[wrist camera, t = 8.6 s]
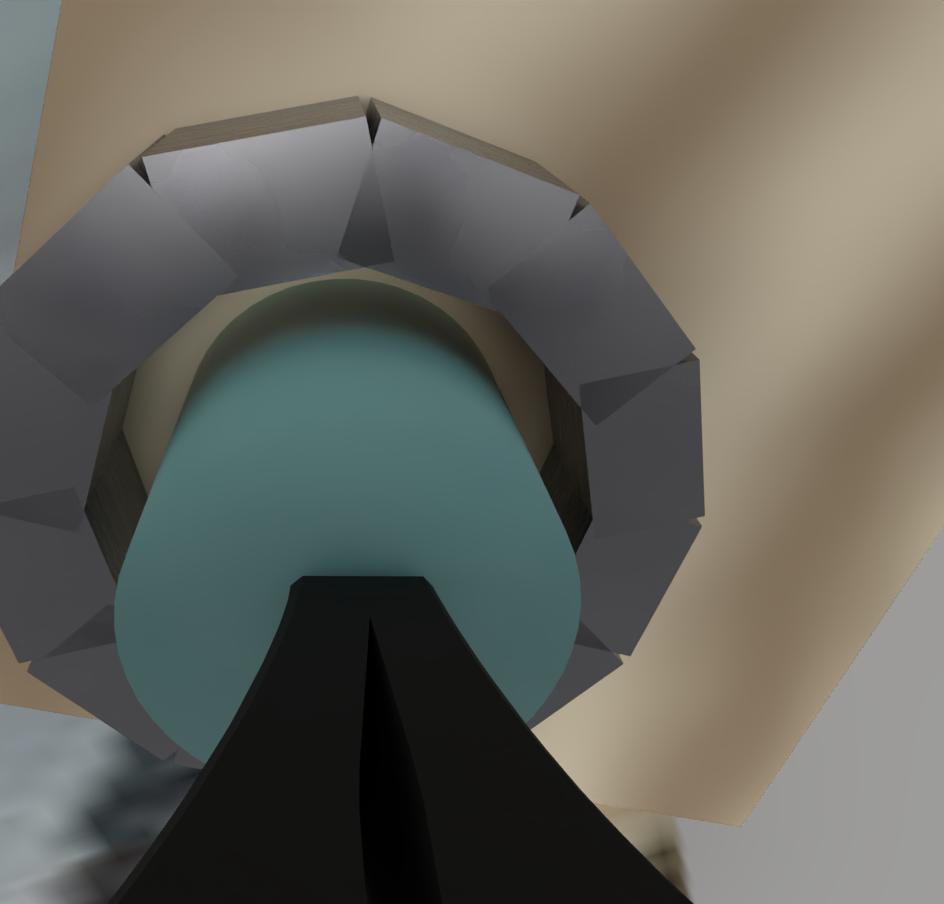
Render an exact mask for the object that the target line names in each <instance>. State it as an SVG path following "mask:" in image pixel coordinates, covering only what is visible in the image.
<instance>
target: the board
mask: <svg viewBox="0 0 944 904" xmlns="http://www.w3.org/2000/svg"><path fill="white" fill-rule="evenodd" d="M353 96H359V99H360V102H361V104H362V107H363V110H364V112H365V114H366V111H367V108H368V105H369V101H370V98H371V97H373V98H375V99H378V100H380V101H383V102H385V103H388V104H390V105H393V106H396V107H398V108H401V109H403V110H406V111H408V112H411V113H413V114H416V115H418V116H421V117H424V118H426V119H429V120H431V121H434V122H436V123H439V124H441V125H444V126H446V127H449V128H452V129H454V130H457V131H459V132H462V133H464V134H467V135H469V136H472V137H474V138H477V139H480V140H482V141H485V142H487V143H490V144H492V145H495V146H497V147H500V148H502V149H505V150H508V151H510V152H513V153H515V154H518V155H520V156H523V157H525V158H528V159H530V160H533V161H535V162H537V163H538V164H540V165H541V166H542V167H544V168H545V169H546V170H548V171H549V172H550V173H551V174H553V175H554V176H555V177H557V178H558V179H559V180H561V181H562V182H563V183H565V184H566V185H567V186H569V187H570V188H571V189H573V190H574V191H575V192H577V193H578V194H579V195H580V196H582V197H583V198H584V199H586V200H587V201H588V202H590V203H591V205H592V206H593V207H594V209H595V210H596V211H597V213H598V214H599V216H600V217H601V218H602V220H603V221H604V223H605V224H606V225H607V227H608V228H609V229H610V231H611V232H612V234H613V235H614V236H615V238H616V239H617V240H618V242H619V243H620V245H621V246H622V247H623V249H624V250H625V252H626V253H627V254H628V256H629V257H630V258H631V260H632V261H633V263H634V264H635V265H636V267H637V268H638V269H639V271H640V272H641V274H642V275H643V276H644V278H645V279H646V281H647V282H648V283H649V285H650V286H651V287H652V289H653V290H654V292H655V293H656V294H657V296H658V297H659V298H660V300H661V301H662V303H663V304H664V305H665V307H666V308H667V310H668V311H669V312H670V314H671V315H672V316H673V318H674V319H675V321H676V322H677V323H678V325H679V326H680V328H681V329H682V330H683V332H684V333H685V334H686V336H687V337H688V339H689V340H690V341H691V343H692V344H693V345H694V347H695V348H696V349H695V350H694V351H693V352H692V353H693V354H694V355H695V356H696V357H697V358H698V359H699V360H700V386H701V415H702V445H703V474H704V504H705V516H704V517H699V518H697V520H698V521H699V522H700V524H701V525H702V528H701V530H700V531H699V533H698V535H697V537H696V539H695V541H694V542H693V544H692V546H691V548H690V550H689V551H688V553H687V555H686V557H685V559H684V560H683V562H682V564H681V566H680V568H679V570H678V571H677V573H676V575H675V577H674V579H673V580H672V582H671V584H670V586H669V588H668V589H667V591H666V593H665V595H664V597H663V598H662V600H661V602H660V604H659V606H658V608H657V609H656V611H655V613H654V615H653V617H652V618H651V620H650V622H649V624H648V626H647V627H646V629H645V631H644V633H643V635H642V637H641V638H640V640H639V642H638V644H637V646H636V647H635V649H634V651H633V653H632V655H631V656H626V655H622V654H619V655H620V657H621V659H622V662H623V665H621V666H620V667H619V668H617V669H616V670H614V671H613V672H612V673H610V674H609V675H607V676H606V677H604V678H603V679H602V680H600V681H599V682H597V683H596V684H595V685H593V686H592V687H590V688H589V689H588V690H586V691H585V692H583V693H582V694H580V695H579V696H578V697H576V698H575V699H573V700H572V701H571V702H569V703H568V704H566V705H565V706H564V707H562V708H561V709H559V710H558V711H556V712H555V713H554V714H552V715H551V716H549V717H548V718H547V719H545V720H544V721H542V722H541V723H539V724H538V725H537V726H535V727H534V728H532V729H531V731H532V732H533V733H534V734H535V736H536V737H537V738H538V739H539V741H540V742H541V743H542V744H543V746H544V747H545V748H546V749H547V751H548V752H549V753H550V754H551V755H552V756H553V758H554V759H555V760H556V761H557V762H558V763H559V765H560V766H561V767H562V768H563V769H564V771H565V772H566V773H567V774H568V775H569V776H570V778H571V779H572V780H573V781H574V782H575V783H576V785H577V786H578V787H579V788H580V789H581V790H582V791H583V793H584V794H585V795H586V796H587V797H588V798H589V799H590V800H591V801H592V802H593V803H599V804H605V805H611V806H617V807H623V808H629V809H635V810H641V811H647V812H653V813H659V814H665V815H671V816H677V817H683V818H689V819H695V820H700V821H707V822H713V823H718V824H724V825H730V826H736V827H742V826H743V824H744V822H745V821H746V820H747V818H748V817H749V815H750V814H751V812H752V811H753V809H754V808H755V806H756V805H757V803H758V802H759V800H760V799H761V797H762V796H763V794H764V793H765V791H766V790H767V788H768V787H769V786H770V784H771V782H772V781H773V780H774V778H775V777H776V775H777V773H778V772H779V771H780V769H781V768H782V766H783V765H784V763H785V762H786V760H787V759H788V757H789V756H790V754H791V753H792V751H793V750H794V749H795V747H796V745H797V744H798V743H799V741H800V740H801V738H802V736H803V735H804V734H805V732H806V731H807V729H808V728H809V726H810V725H811V723H812V722H813V720H814V719H815V717H816V716H817V714H818V713H819V712H820V710H821V709H822V707H823V705H824V704H825V703H826V701H827V700H828V698H829V697H830V695H831V694H832V692H833V691H834V689H835V688H836V686H837V685H838V683H839V682H840V680H841V679H842V677H843V676H844V674H845V673H846V672H847V670H848V669H849V667H850V665H851V664H852V662H853V661H854V660H855V658H856V657H857V655H858V654H859V652H860V651H861V649H862V648H863V646H864V645H865V643H866V642H867V640H868V639H869V637H870V636H871V635H872V633H873V631H874V630H875V629H876V627H877V625H878V624H879V623H880V621H881V620H882V618H883V617H884V615H885V614H886V612H887V611H888V609H889V608H890V606H891V605H892V603H893V602H894V600H895V599H896V598H897V596H898V595H899V593H900V592H901V590H902V589H903V587H904V586H905V584H906V583H907V581H908V580H909V578H910V577H911V575H912V574H913V572H914V571H915V569H916V568H917V566H918V565H919V563H920V562H921V560H922V559H923V558H924V556H925V554H926V553H927V552H928V550H929V549H930V547H931V545H932V544H933V543H934V541H935V540H936V538H937V537H938V535H939V534H940V532H941V531H942V529H943V528H944V0H62V4H61V10H60V15H59V21H58V26H57V32H56V38H55V43H54V49H53V54H52V60H51V66H50V71H49V77H48V83H47V88H46V94H45V99H44V105H43V111H42V116H41V122H40V128H39V133H38V139H37V144H36V150H35V156H34V161H33V167H32V172H31V178H30V184H29V189H28V195H27V201H26V206H25V212H24V217H23V223H22V229H21V234H20V240H19V246H18V251H17V257H16V262H15V268H14V273H15V272H16V271H17V270H18V269H19V268H20V267H21V266H22V265H23V264H24V263H25V262H26V261H27V260H28V259H29V258H30V257H31V256H32V255H33V254H34V253H36V252H37V251H38V250H39V249H40V248H41V247H42V246H43V245H44V244H45V243H46V242H47V241H48V240H49V239H50V238H51V237H52V236H53V235H54V234H55V233H56V232H58V231H59V230H60V229H61V228H62V227H63V226H64V225H65V224H66V223H67V222H68V221H69V220H70V219H71V218H72V217H73V216H74V215H75V214H76V213H77V212H79V211H80V210H81V209H82V208H83V207H84V206H85V205H86V204H87V203H88V202H89V201H90V200H91V199H92V198H93V197H94V196H95V195H96V194H97V193H98V192H99V191H101V190H102V189H103V188H104V187H105V186H106V185H107V184H108V183H109V182H110V181H111V180H112V179H113V178H114V177H115V176H116V175H117V174H118V173H119V172H120V171H122V170H123V169H124V168H125V167H126V166H127V165H128V164H129V163H130V162H131V161H133V160H134V159H135V158H136V157H137V156H138V155H140V154H141V153H142V152H143V151H144V150H146V149H147V148H148V147H149V146H150V145H152V144H153V143H154V142H155V141H156V140H158V139H159V138H160V137H161V136H162V135H165V136H167V135H168V134H169V133H171V132H172V131H173V130H174V129H175V128H181V127H186V126H192V125H197V124H203V123H208V122H214V121H219V120H225V119H231V118H236V117H242V116H247V115H253V114H258V113H264V112H269V111H275V110H281V109H286V108H292V107H297V106H303V105H308V104H314V103H319V102H325V101H331V100H336V99H342V98H347V97H353ZM328 279H361V280H368V281H376V282H381V283H384V284H388V285H392V286H396V287H399V288H402V289H404V290H406V291H409V292H411V293H414V294H416V295H419V296H420V297H422V298H424V299H426V300H427V301H429V302H431V303H433V304H434V305H436V306H438V307H439V308H440V309H442V310H443V311H444V312H445V313H447V314H448V315H449V316H451V317H452V318H453V319H454V320H455V321H456V322H457V323H458V324H459V325H460V326H461V327H462V328H463V329H464V330H465V331H466V332H467V333H468V334H469V335H470V337H471V338H472V339H473V341H474V342H475V343H476V345H477V346H478V347H479V349H480V351H481V352H482V354H483V356H484V358H485V360H486V361H487V363H488V365H489V367H490V369H491V371H492V374H493V376H494V378H495V380H496V382H497V384H498V386H499V389H500V391H501V393H502V395H503V397H504V399H505V401H506V404H507V406H508V408H509V410H510V412H511V414H512V416H513V419H514V421H515V423H516V425H517V427H518V429H519V431H520V434H521V436H522V438H523V440H524V442H525V444H526V446H527V449H528V451H529V453H530V455H531V457H532V459H533V461H534V464H535V466H536V468H537V470H538V472H539V473H540V471H541V469H542V467H543V465H544V462H545V460H546V458H547V456H548V454H549V452H550V449H551V447H552V445H553V437H552V429H551V421H550V412H549V404H548V396H547V388H546V380H545V372H544V364H543V362H542V361H541V360H540V358H539V357H538V356H537V355H536V354H535V352H534V351H533V350H532V349H531V348H530V347H529V345H528V344H527V343H526V342H525V341H524V339H523V338H522V337H521V336H520V335H519V333H518V332H517V331H516V330H515V329H514V327H513V326H512V325H511V324H510V323H509V321H508V320H507V319H506V318H505V317H504V316H503V314H502V313H501V312H498V311H495V310H492V309H489V308H486V307H483V306H480V305H477V304H474V303H471V302H468V301H465V300H462V299H459V298H456V297H453V296H450V295H447V294H444V293H441V292H438V291H435V290H432V289H429V288H426V287H423V286H420V285H417V284H414V283H411V282H408V281H405V280H402V279H399V278H396V277H393V276H390V275H387V274H384V273H381V272H378V271H375V270H372V269H369V268H366V267H364V268H359V269H353V270H348V271H343V272H338V273H333V274H327V275H322V276H317V277H312V278H307V279H301V280H296V281H291V282H286V283H281V284H275V285H270V286H265V287H260V288H255V289H249V290H244V291H239V292H234V293H229V294H223V295H218V296H216V297H215V298H214V299H213V300H212V301H211V302H210V303H209V304H208V305H206V306H205V307H204V308H203V309H202V310H201V311H200V312H199V313H197V314H196V315H195V316H194V317H193V318H192V319H191V320H190V321H188V322H187V323H186V324H185V325H184V326H183V327H182V328H181V329H180V330H178V331H177V332H176V333H175V334H174V335H173V336H172V337H171V338H169V339H168V340H167V341H166V342H165V343H164V344H163V345H162V346H160V347H159V348H158V349H157V350H156V351H155V352H154V353H153V354H151V355H150V356H149V357H148V358H147V359H146V360H145V361H144V362H143V363H141V364H140V365H139V366H138V367H137V371H136V375H135V379H134V383H133V387H132V391H131V395H130V399H129V403H128V408H127V412H126V416H125V420H124V424H123V428H122V429H123V432H124V435H125V437H126V440H127V443H128V445H129V448H130V451H131V453H132V456H133V458H134V461H135V464H136V466H137V469H138V472H139V474H140V477H141V480H142V482H143V485H144V488H145V490H146V493H147V495H148V496H149V494H150V491H151V488H152V486H153V483H154V481H155V478H156V475H157V473H158V470H159V468H160V465H161V462H162V460H163V457H164V454H165V452H166V449H167V447H168V444H169V441H170V439H171V436H172V434H173V431H174V428H175V426H176V423H177V420H178V418H179V415H180V413H181V410H182V407H183V405H184V402H185V400H186V397H187V394H188V392H189V389H190V386H191V384H192V381H193V379H194V376H195V373H196V371H197V368H198V366H199V364H200V363H201V361H202V359H203V357H204V355H205V353H206V351H207V350H208V348H209V347H210V346H211V344H212V343H213V342H214V340H215V339H216V338H217V336H218V335H219V334H220V333H221V332H222V331H223V330H224V329H225V328H226V327H227V325H228V324H229V323H230V322H231V321H232V320H233V319H235V318H236V317H237V316H239V315H240V314H241V313H242V312H244V311H245V310H246V309H248V308H249V307H250V306H252V305H254V304H255V303H257V302H259V301H261V300H262V299H264V298H266V297H268V296H269V295H272V294H274V293H277V292H279V291H282V290H284V289H287V288H289V287H293V286H296V285H300V284H304V283H308V282H312V281H320V280H328ZM30 663H31V661H28V662H24V663H18V661H17V659H16V657H15V655H14V653H13V651H12V649H11V647H10V645H9V643H8V641H7V639H6V637H5V636H4V634H3V632H2V630H1V628H0V703H1V704H7V705H13V706H19V707H25V708H31V709H37V710H43V711H49V712H55V713H61V714H67V715H73V716H79V717H85V718H91V719H97V720H100V719H98V718H97V717H95V716H94V715H92V714H91V713H89V712H87V711H86V710H84V709H83V708H81V707H80V706H78V705H77V704H75V703H74V702H72V701H71V700H69V699H68V698H66V697H64V696H63V695H61V694H60V693H58V692H57V691H55V690H54V689H52V688H51V687H49V686H48V685H46V684H45V683H43V682H41V681H40V680H38V679H37V678H35V677H34V676H32V675H31V674H29V673H28V672H27V670H28V668H29V665H30Z"/></svg>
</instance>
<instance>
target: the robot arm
mask: <svg viewBox="0 0 944 904" xmlns="http://www.w3.org/2000/svg"><path fill="white" fill-rule="evenodd" d="M108 904H693V903H692V902H691V901H690V900H689V899H688V898H687V897H686V896H685V895H684V894H683V893H681V892H680V891H679V890H678V889H677V888H676V887H675V886H674V885H673V884H672V883H671V882H670V881H669V880H668V879H667V878H665V877H664V876H663V875H662V874H661V873H660V872H659V871H658V870H657V869H656V868H655V867H654V866H653V865H652V864H651V863H650V862H649V861H648V860H647V859H646V858H645V857H644V856H643V855H642V854H641V853H640V852H639V851H638V850H637V849H636V848H635V847H634V846H633V845H632V844H631V843H630V842H629V841H628V840H627V839H626V838H625V837H624V836H623V835H622V834H621V833H620V832H619V831H618V829H617V828H616V827H615V826H614V825H613V824H612V823H611V822H610V821H609V820H608V819H607V818H606V817H605V816H604V815H603V813H602V812H601V811H600V810H599V809H598V808H597V807H596V806H595V805H594V804H593V803H592V801H591V800H590V799H589V798H588V797H587V796H586V795H585V794H584V793H583V791H582V790H581V789H580V788H579V787H578V786H577V785H576V783H575V782H574V781H573V780H572V779H571V778H570V776H569V775H568V774H567V773H566V772H565V771H564V769H563V768H562V767H561V766H560V765H559V763H558V762H557V761H556V760H555V759H554V758H553V756H552V755H551V754H550V753H549V752H548V751H547V749H546V748H545V747H544V746H543V744H542V743H541V742H540V741H539V739H538V738H537V737H536V736H535V734H534V733H533V732H532V731H531V729H530V728H529V727H528V726H527V724H526V723H525V722H524V720H523V719H522V718H521V716H520V715H519V714H518V712H517V711H516V710H515V708H514V707H513V706H512V704H511V703H510V702H509V700H508V699H507V698H506V696H505V695H504V694H503V692H502V691H501V690H500V688H499V687H498V686H497V684H496V683H495V682H494V681H493V679H492V678H491V676H490V675H489V673H488V672H487V671H486V669H485V668H484V666H483V665H482V664H481V662H480V661H479V659H478V658H477V656H476V655H475V653H474V652H473V650H472V649H471V647H470V646H469V644H468V643H467V641H466V640H465V638H464V637H463V635H462V634H461V632H460V631H459V629H458V627H457V626H456V624H455V623H454V621H453V620H452V618H451V616H450V615H449V613H448V611H447V610H446V608H445V606H444V605H443V603H442V601H441V600H440V598H439V596H438V595H437V593H436V591H435V589H434V587H433V586H432V585H431V584H430V583H429V582H428V581H427V580H426V579H425V578H424V576H302V577H300V578H299V579H298V580H297V581H295V582H294V583H293V584H292V585H291V586H290V591H289V597H288V601H287V604H286V607H285V610H284V613H283V616H282V619H281V622H280V624H279V627H278V629H277V632H276V634H275V636H274V639H273V641H272V643H271V645H270V648H269V650H268V652H267V654H266V656H265V659H264V661H263V663H262V665H261V667H260V669H259V671H258V673H257V675H256V676H255V678H254V680H253V682H252V684H251V686H250V688H249V690H248V692H247V694H246V695H245V697H244V699H243V701H242V703H241V705H240V707H239V709H238V711H237V713H236V714H235V716H234V718H233V720H232V722H231V723H230V725H229V727H228V728H227V730H226V732H225V734H224V735H223V737H222V738H221V740H220V742H219V743H218V745H217V746H216V748H215V750H214V751H213V753H212V754H211V756H210V758H209V759H208V761H207V762H206V764H205V766H204V767H203V769H202V770H201V772H200V774H199V775H198V777H197V778H196V780H195V782H194V783H193V785H192V787H191V788H190V790H189V791H188V793H187V795H186V796H185V798H184V799H183V801H182V802H181V804H180V805H179V806H178V808H177V809H176V811H175V812H174V814H173V815H172V817H171V818H170V820H169V821H168V822H167V824H166V825H165V827H164V828H163V830H162V831H161V833H160V834H159V835H158V837H157V838H156V840H155V841H154V842H153V844H152V845H151V847H150V848H149V849H148V851H147V852H146V854H145V855H144V856H143V858H142V859H141V860H140V862H139V863H138V864H137V866H136V867H135V868H134V870H133V871H132V872H131V874H130V875H129V876H128V878H127V879H126V880H125V882H124V883H123V884H122V886H121V887H120V888H119V890H118V891H117V892H116V894H115V895H114V896H113V898H112V899H111V900H110V901H109V903H108Z"/></svg>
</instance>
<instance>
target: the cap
mask: <svg viewBox="0 0 944 904" xmlns="http://www.w3.org/2000/svg"><path fill="white" fill-rule="evenodd" d="M302 576H424V578H425V579H426V580H427V581H428V582H429V583H430V584H431V585H432V586H433V587H434V589H435V591H436V593H437V595H438V596H439V598H440V600H441V601H442V603H443V605H444V606H445V608H446V610H447V611H448V613H449V615H450V616H451V618H452V620H453V621H454V623H455V624H456V626H457V627H458V629H459V631H460V632H461V634H462V635H463V637H464V638H465V640H466V641H467V643H468V644H469V646H470V647H471V649H472V650H473V652H474V653H475V655H476V656H477V658H478V659H479V661H480V662H481V664H482V665H483V666H484V668H485V669H486V671H487V672H488V673H489V675H490V676H491V678H492V679H493V681H494V682H495V683H496V684H497V686H498V687H499V688H500V690H501V691H502V692H503V694H504V695H505V696H506V698H507V699H508V700H509V702H510V703H511V704H512V706H513V707H514V708H515V710H516V711H517V712H518V714H519V715H520V716H521V718H522V719H523V720H524V722H525V723H527V722H528V721H529V720H530V719H531V718H532V717H533V716H534V715H535V713H536V712H537V711H538V710H539V708H540V707H541V706H542V704H543V703H544V702H545V701H546V699H547V698H548V697H549V695H550V694H551V692H552V691H553V689H554V687H555V686H556V684H557V682H558V681H559V679H560V677H561V675H562V674H563V672H564V669H565V667H566V665H567V662H568V660H569V658H570V655H571V653H572V650H573V646H574V643H575V639H576V635H577V631H578V627H579V618H580V609H581V589H580V577H579V572H578V567H577V562H576V557H575V554H574V551H573V548H572V546H571V543H570V540H569V538H568V535H567V532H566V530H565V528H564V526H563V524H562V521H561V519H560V517H559V515H558V513H557V511H556V509H555V506H554V504H553V502H552V500H551V498H550V496H549V494H548V491H547V489H546V487H545V485H544V483H543V481H542V479H541V476H540V474H539V472H538V470H537V468H536V466H535V464H534V461H533V459H532V457H531V455H530V453H529V451H528V449H527V446H526V444H525V442H524V440H523V438H522V436H521V434H520V431H519V429H518V427H517V425H516V423H515V421H514V419H513V416H512V414H511V412H510V410H509V408H508V406H507V404H506V401H505V399H504V397H503V395H502V393H501V391H500V389H499V386H498V384H497V382H496V380H495V378H494V376H493V374H492V371H491V369H490V367H489V365H488V363H487V361H486V360H485V358H484V356H483V354H482V352H481V351H480V349H479V347H478V346H477V345H476V343H475V342H474V341H473V339H472V338H471V337H470V335H469V334H468V333H467V332H466V331H465V330H464V329H463V328H462V327H461V326H460V325H459V324H458V323H457V322H456V321H455V320H454V319H453V318H452V317H451V316H449V315H448V314H447V313H445V312H444V311H443V310H442V309H440V308H439V307H438V306H436V305H434V304H433V303H431V302H429V301H427V300H426V299H424V298H422V297H420V296H419V295H416V294H414V293H411V292H409V291H406V290H404V289H402V288H399V287H396V286H392V285H388V284H384V283H381V282H376V281H368V280H361V279H328V280H320V281H312V282H308V283H304V284H300V285H296V286H293V287H289V288H287V289H284V290H282V291H279V292H277V293H274V294H272V295H269V296H268V297H266V298H264V299H262V300H261V301H259V302H257V303H255V304H254V305H252V306H250V307H249V308H248V309H246V310H245V311H244V312H242V313H241V314H240V315H239V316H237V317H236V318H235V319H233V320H232V321H231V322H230V323H229V324H228V325H227V327H226V328H225V329H224V330H223V331H222V332H221V333H220V334H219V335H218V336H217V338H216V339H215V340H214V342H213V343H212V344H211V346H210V347H209V348H208V350H207V351H206V353H205V355H204V357H203V359H202V361H201V363H200V364H199V366H198V368H197V371H196V373H195V376H194V379H193V381H192V384H191V386H190V389H189V392H188V394H187V397H186V400H185V402H184V405H183V407H182V410H181V413H180V415H179V418H178V420H177V423H176V426H175V428H174V431H173V434H172V436H171V439H170V441H169V444H168V447H167V449H166V452H165V454H164V457H163V460H162V462H161V465H160V468H159V470H158V473H157V475H156V478H155V481H154V483H153V486H152V488H151V491H150V494H149V496H148V499H147V502H146V504H145V507H144V509H143V512H142V515H141V517H140V520H139V522H138V525H137V528H136V530H135V533H134V536H133V538H132V541H131V543H130V546H129V549H128V551H127V554H126V557H125V560H124V563H123V566H122V568H121V571H120V574H119V578H118V584H117V590H116V595H115V601H114V630H115V636H116V642H117V649H118V654H119V657H120V660H121V663H122V666H123V669H124V672H125V675H126V678H127V680H128V682H129V684H130V685H131V687H132V689H133V691H134V693H135V695H136V697H137V699H138V701H139V702H140V703H141V705H142V706H143V707H144V709H145V710H146V712H147V713H148V714H149V716H150V717H151V718H152V720H153V721H154V722H155V723H156V724H157V725H158V726H159V727H160V728H161V729H162V730H163V731H164V732H165V733H166V734H167V735H168V736H169V737H170V739H171V740H173V741H174V742H175V743H177V744H178V745H179V746H180V747H182V748H183V749H184V750H185V751H187V752H188V753H189V754H191V755H192V756H193V757H195V758H197V759H198V760H200V761H202V762H203V763H205V764H206V762H207V761H208V759H209V758H210V756H211V754H212V753H213V751H214V750H215V748H216V746H217V745H218V743H219V742H220V740H221V738H222V737H223V735H224V734H225V732H226V730H227V728H228V727H229V725H230V723H231V722H232V720H233V718H234V716H235V714H236V713H237V711H238V709H239V707H240V705H241V703H242V701H243V699H244V697H245V695H246V694H247V692H248V690H249V688H250V686H251V684H252V682H253V680H254V678H255V676H256V675H257V673H258V671H259V669H260V667H261V665H262V663H263V661H264V659H265V656H266V654H267V652H268V650H269V648H270V645H271V643H272V641H273V639H274V636H275V634H276V632H277V629H278V627H279V624H280V622H281V619H282V616H283V613H284V610H285V607H286V604H287V601H288V597H289V591H290V586H291V585H292V584H293V583H294V582H295V581H297V580H298V579H299V578H300V577H302Z"/></svg>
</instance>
